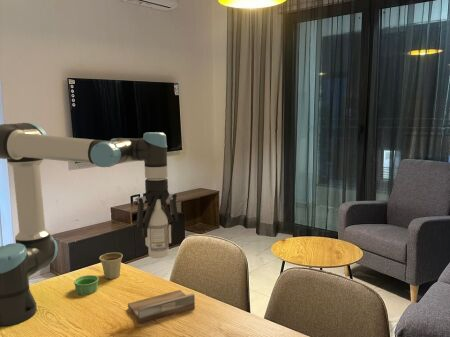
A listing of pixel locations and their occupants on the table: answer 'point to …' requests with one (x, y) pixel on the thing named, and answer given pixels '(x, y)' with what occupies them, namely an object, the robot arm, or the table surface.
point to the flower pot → (111, 264)
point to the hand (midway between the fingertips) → (158, 243)
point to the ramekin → (86, 284)
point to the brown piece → (161, 306)
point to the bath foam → (158, 232)
